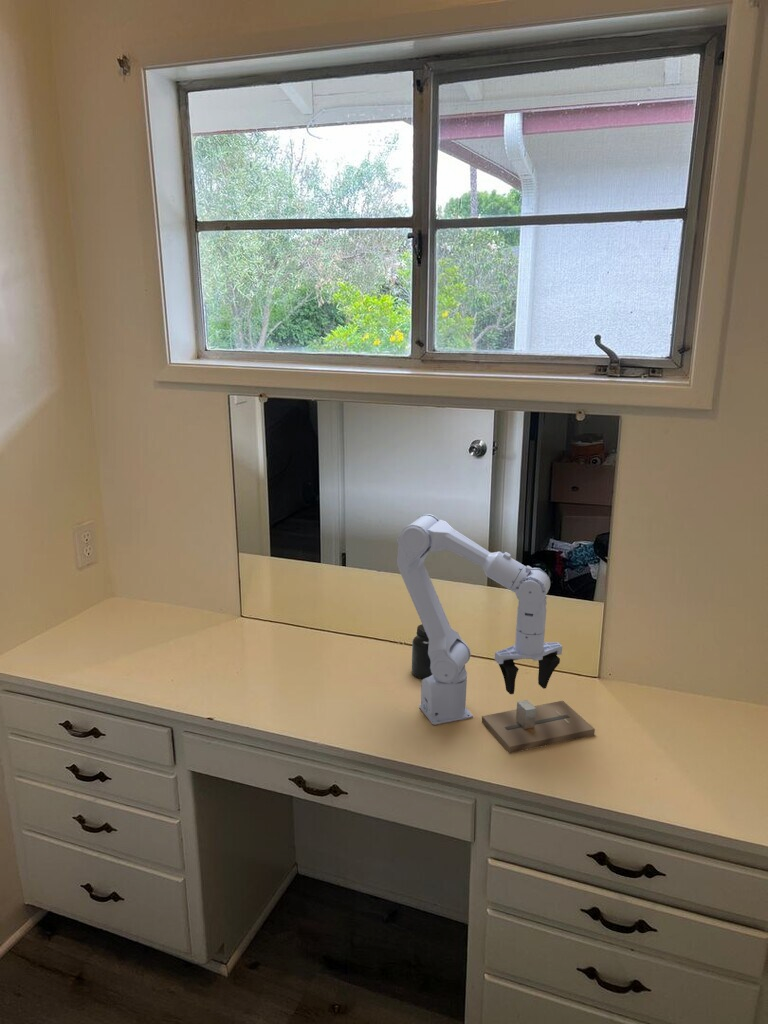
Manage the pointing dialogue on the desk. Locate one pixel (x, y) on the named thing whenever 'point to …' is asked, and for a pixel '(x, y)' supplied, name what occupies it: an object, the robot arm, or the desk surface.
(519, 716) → the fader tab
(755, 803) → the desk surface
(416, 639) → the supplement bottle
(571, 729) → the console board
